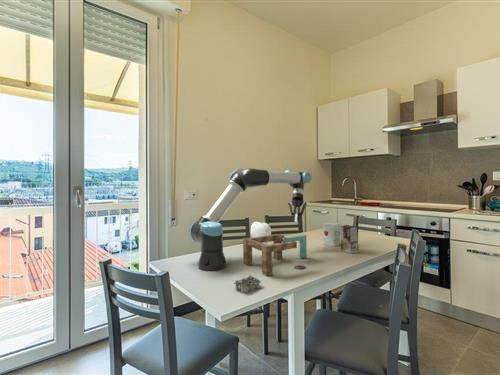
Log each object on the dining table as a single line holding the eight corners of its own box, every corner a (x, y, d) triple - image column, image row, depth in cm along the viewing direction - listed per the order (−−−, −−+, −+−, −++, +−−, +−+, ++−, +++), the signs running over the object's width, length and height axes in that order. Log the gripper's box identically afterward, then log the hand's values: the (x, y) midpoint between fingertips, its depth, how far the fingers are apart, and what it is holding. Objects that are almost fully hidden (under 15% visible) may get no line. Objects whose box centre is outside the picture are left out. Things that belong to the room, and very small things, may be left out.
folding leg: (285, 261, 152) (285, 238, 152) (281, 259, 156) (280, 237, 156) (308, 257, 160) (307, 235, 160) (303, 255, 164) (303, 234, 163)
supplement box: (322, 244, 194) (322, 223, 194) (329, 242, 200) (329, 222, 200) (334, 246, 187) (333, 224, 187) (341, 244, 193) (340, 223, 193)
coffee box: (358, 252, 171) (358, 226, 170) (350, 253, 168) (350, 227, 168) (348, 249, 179) (348, 224, 179) (340, 250, 177) (340, 225, 177)
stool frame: (267, 276, 130) (266, 247, 130) (243, 263, 152) (242, 238, 152) (308, 268, 142) (307, 241, 142) (280, 257, 164) (280, 233, 164)
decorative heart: (275, 247, 188) (275, 222, 187) (263, 250, 181) (263, 224, 181) (258, 243, 202) (258, 220, 202) (247, 245, 195) (246, 221, 195)
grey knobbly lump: (243, 294, 111) (243, 284, 111) (232, 289, 117) (232, 279, 117) (262, 287, 118) (262, 278, 118) (251, 282, 124) (251, 273, 124)
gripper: (307, 199, 195) (306, 226, 179) (289, 199, 199) (286, 226, 183) (307, 192, 190) (305, 220, 174) (288, 192, 193) (285, 219, 178)
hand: (295, 223), depth 179 cm, fingers closed
